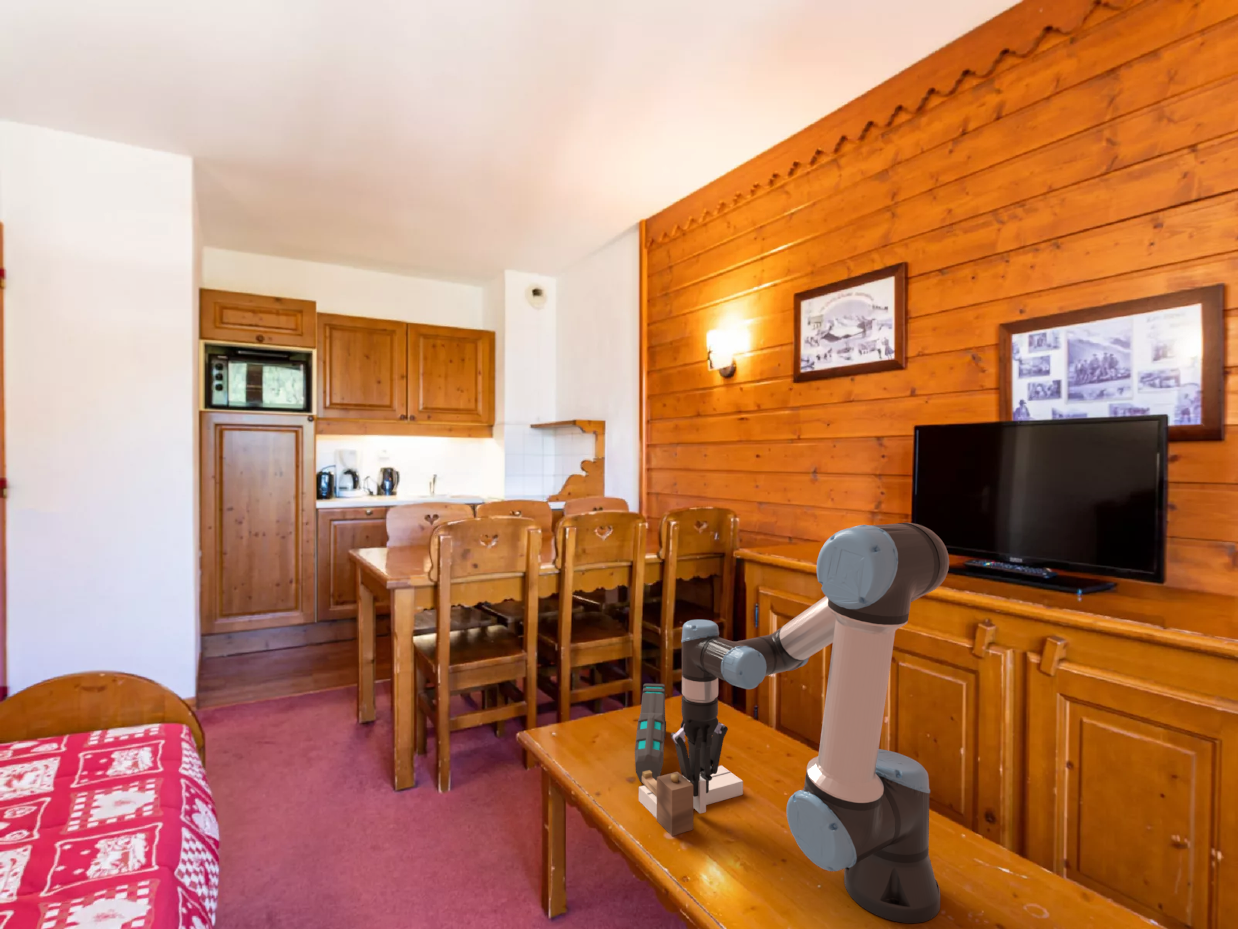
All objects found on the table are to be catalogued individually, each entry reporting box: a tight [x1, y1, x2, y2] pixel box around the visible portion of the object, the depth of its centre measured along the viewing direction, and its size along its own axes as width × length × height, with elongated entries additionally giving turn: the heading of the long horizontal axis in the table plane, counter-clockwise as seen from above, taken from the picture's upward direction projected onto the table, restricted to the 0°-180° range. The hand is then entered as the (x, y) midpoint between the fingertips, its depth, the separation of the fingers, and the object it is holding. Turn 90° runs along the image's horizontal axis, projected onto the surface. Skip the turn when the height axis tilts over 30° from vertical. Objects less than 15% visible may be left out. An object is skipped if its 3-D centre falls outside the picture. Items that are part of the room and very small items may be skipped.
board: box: [638, 765, 744, 820], centre depth 139 cm, size 8×22×3 cm, turn 117°
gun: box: [634, 683, 667, 783], centre depth 159 cm, size 7×29×15 cm, turn 174°
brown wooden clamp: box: [641, 770, 694, 837], centre depth 132 cm, size 15×5×10 cm, turn 27°
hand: (699, 809), depth 131 cm, fingers closed
